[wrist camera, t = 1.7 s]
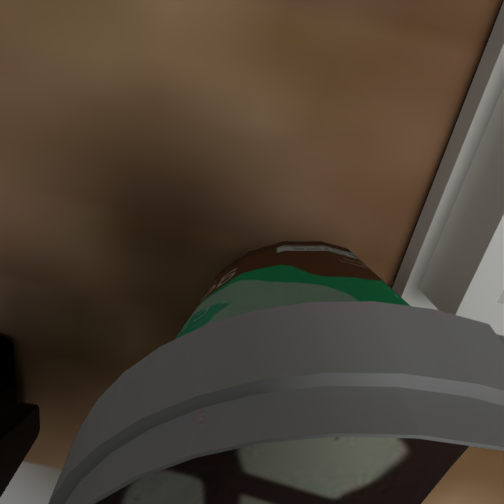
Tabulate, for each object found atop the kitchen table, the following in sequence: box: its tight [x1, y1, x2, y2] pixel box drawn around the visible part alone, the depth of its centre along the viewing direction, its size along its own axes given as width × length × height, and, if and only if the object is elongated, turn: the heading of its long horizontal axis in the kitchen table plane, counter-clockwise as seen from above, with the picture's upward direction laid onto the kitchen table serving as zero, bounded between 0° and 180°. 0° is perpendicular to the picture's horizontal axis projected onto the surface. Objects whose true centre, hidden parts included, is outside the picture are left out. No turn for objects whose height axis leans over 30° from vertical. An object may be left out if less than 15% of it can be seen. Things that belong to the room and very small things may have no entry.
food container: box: [49, 242, 504, 504], centre depth 10 cm, size 12×6×10 cm, turn 160°
